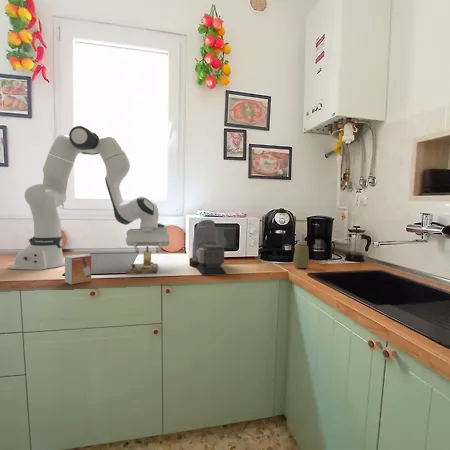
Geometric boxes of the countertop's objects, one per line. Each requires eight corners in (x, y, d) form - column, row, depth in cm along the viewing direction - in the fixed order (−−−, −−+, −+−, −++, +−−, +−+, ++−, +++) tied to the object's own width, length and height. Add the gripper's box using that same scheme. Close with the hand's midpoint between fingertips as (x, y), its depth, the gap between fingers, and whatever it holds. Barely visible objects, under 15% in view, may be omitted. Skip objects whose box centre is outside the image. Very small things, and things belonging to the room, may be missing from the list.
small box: (71, 285, 108) (70, 258, 107) (64, 282, 111) (64, 256, 110) (91, 281, 114) (91, 255, 113) (85, 278, 118) (84, 253, 117)
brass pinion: (140, 268, 130) (140, 247, 130) (141, 266, 136) (141, 245, 135) (153, 268, 132) (153, 247, 131) (153, 265, 137) (153, 245, 136)
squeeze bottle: (311, 268, 149) (313, 234, 148) (304, 270, 144) (306, 235, 142) (297, 265, 155) (299, 233, 154) (290, 267, 149) (291, 234, 148)
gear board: (126, 274, 126) (126, 265, 126) (131, 266, 141) (131, 258, 141) (156, 273, 129) (156, 265, 129) (157, 266, 144) (157, 258, 143)
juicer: (186, 261, 156) (187, 217, 154) (214, 261, 161) (215, 218, 159) (197, 275, 127) (199, 221, 126) (231, 274, 132) (233, 222, 130)
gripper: (126, 224, 137) (123, 248, 128) (169, 225, 141) (169, 248, 132) (127, 233, 142) (124, 255, 133) (169, 233, 146) (169, 255, 137)
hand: (147, 252), depth 133 cm, fingers open, 8 cm apart
